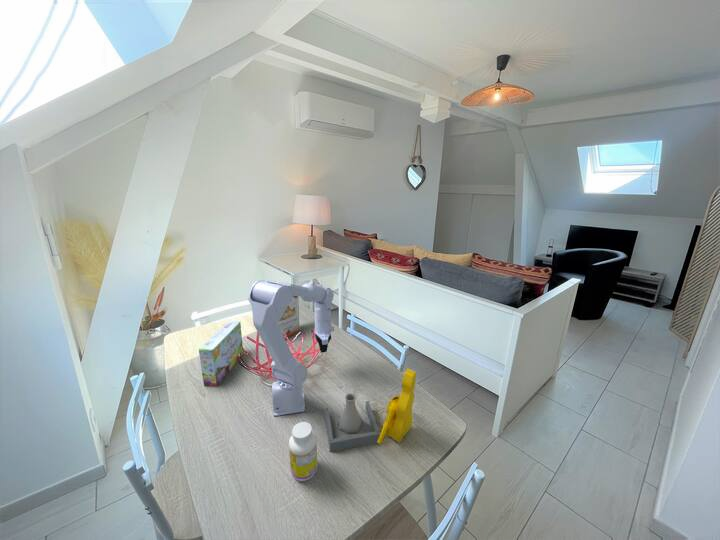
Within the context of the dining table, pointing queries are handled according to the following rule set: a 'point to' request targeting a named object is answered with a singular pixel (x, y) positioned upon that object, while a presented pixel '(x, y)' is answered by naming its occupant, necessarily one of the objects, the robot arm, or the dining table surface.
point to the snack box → (221, 353)
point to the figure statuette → (400, 410)
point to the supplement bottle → (303, 452)
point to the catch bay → (355, 439)
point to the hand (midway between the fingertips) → (323, 351)
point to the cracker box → (290, 318)
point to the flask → (350, 416)
